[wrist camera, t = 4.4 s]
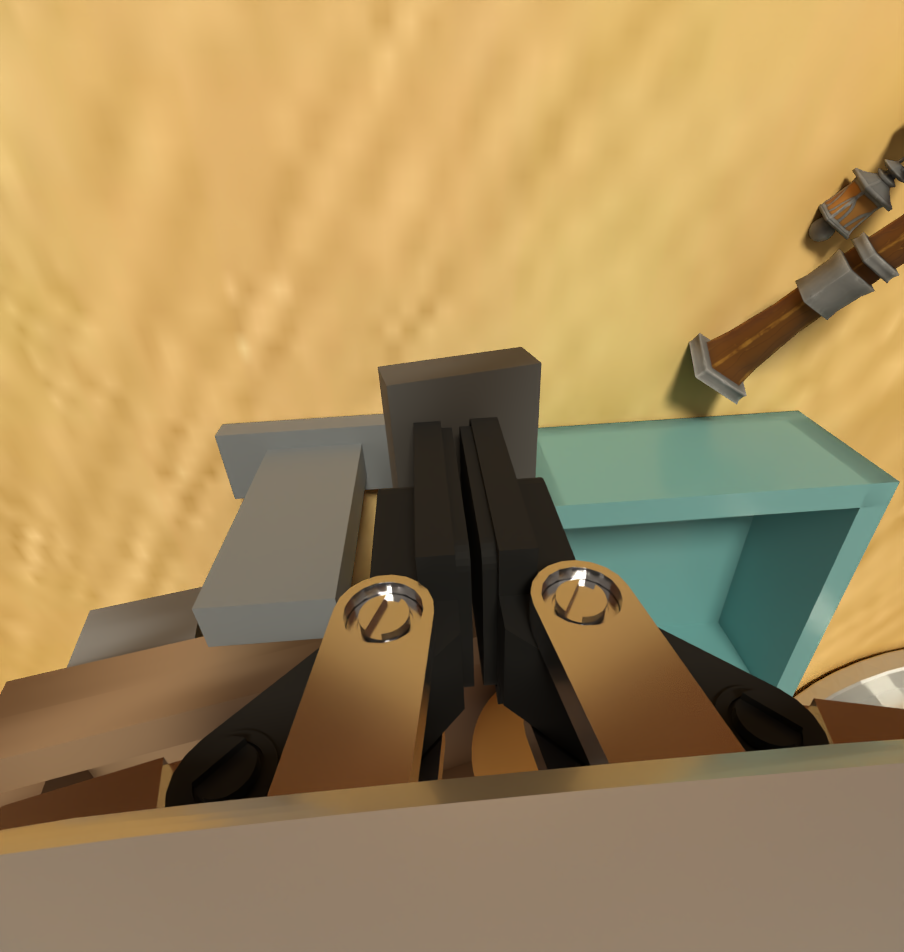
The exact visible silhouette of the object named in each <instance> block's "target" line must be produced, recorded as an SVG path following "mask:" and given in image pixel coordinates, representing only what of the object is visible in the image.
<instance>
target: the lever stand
mask: <svg viewBox="0 0 904 952" xmlns="http://www.w3.org/2000/svg"><path fill="white" fill-rule="evenodd" d="M215 438H216V441H217V444H218V447H219V451H220V454H221V457H222V460H223V463H224V466H225V469H226V472H227V475H228V478H229V481H230V485H231V488H232V491H233V494H234V497H235V499H240V498H244V500H243V502H242V504H241V506H240V509H239V511H238V513H237V515H236V517H235V519H234V521H233V523H232V525H231V528H230V530H229V532H228V534H227V536H226V538H225V540H224V542H223V544H222V546H221V549H220V551H219V553H218V555H217V557H216V559H215V561H214V563H213V565H212V568H211V570H210V572H209V574H208V576H207V578H206V580H205V582H204V584H203V586H202V589H201V591H200V593H199V595H198V597H197V599H196V601H195V603H194V605H193V608H192V611H193V613H194V615H195V618H196V620H197V622H198V624H199V627H200V629H201V631H202V634H203V636H204V638H205V640H206V643H207V645H208V647H216V646H229V645H242V644H255V643H268V642H281V641H294V640H307V639H320V638H323V637H324V634H325V631H326V629H327V626H328V623H329V620H330V617H331V615H332V612H333V609H334V607H335V605H336V604H337V602H338V600H339V598H340V597H341V596H342V595H343V594H344V593H345V592H346V591H347V590H348V589H349V588H351V582H352V575H353V568H354V561H355V554H356V547H357V539H358V532H359V525H360V518H361V511H362V504H363V497H364V490H370V489H384V488H393V485H392V477H391V469H390V461H389V453H388V445H387V437H386V429H385V421H384V414H373V415H358V416H343V417H327V418H312V419H297V420H281V421H266V422H251V423H235V424H223V425H222V426H221V427H220V429H219V430H218V432H217V433H216V435H215Z"/></svg>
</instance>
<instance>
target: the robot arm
mask: <svg viewBox="0 0 904 952" xmlns="http://www.w3.org/2000/svg"><path fill="white" fill-rule="evenodd" d="M413 435H414V487H401V488H387V489H379V490H378V494H377V505H376V516H375V527H374V538H373V549H372V561H371V572H370V578H369V579H366V580H363V581H361V582H359V583H358V584H356V585H354V586H352V587H351V588H349V589H348V590H347V591H346V592H345V593H344V594H343V595H342V596H341V597H340V598H339V600H338V602H337V604H336V605H335V607H334V609H333V612H332V615H331V617H330V620H329V623H328V626H327V629H326V631H325V634H324V637H323V640H322V643H321V645H320V647H319V648H318V649H317V650H316V651H314V652H313V653H312V654H310V655H309V656H308V657H307V658H305V659H304V660H303V661H301V662H300V663H299V664H298V665H296V666H295V667H294V668H293V669H291V670H290V671H289V672H287V673H286V674H285V675H284V676H282V677H281V678H280V679H278V680H277V681H276V682H275V683H273V684H272V685H271V686H270V687H268V688H267V689H266V690H264V691H263V692H262V693H261V694H259V695H258V696H257V697H255V698H254V699H253V700H252V701H250V702H249V703H248V704H247V705H245V706H244V707H243V708H241V709H240V710H239V711H238V712H236V713H235V714H234V715H232V716H231V717H230V718H229V719H227V720H226V721H225V722H224V723H222V724H221V725H220V726H218V727H217V728H216V729H215V730H213V731H212V732H211V733H209V734H208V735H207V736H206V737H204V738H203V739H202V740H201V741H200V742H199V743H198V744H197V745H195V746H194V747H193V748H192V749H191V750H190V751H189V752H188V753H187V754H186V755H185V757H184V758H183V759H182V760H180V761H177V762H173V763H170V764H168V763H167V761H166V760H165V758H164V757H162V758H159V759H155V760H152V761H149V762H145V763H142V764H139V765H136V766H132V767H129V768H126V769H122V770H119V771H116V772H112V773H109V774H106V775H102V776H99V777H96V778H93V779H89V780H86V781H83V782H79V783H76V784H73V785H69V786H66V787H63V788H60V789H56V790H53V791H50V792H46V793H43V794H40V795H36V796H33V797H30V798H26V799H23V800H20V801H17V802H13V803H10V804H7V805H4V806H2V807H0V952H904V649H902V650H897V651H892V652H888V653H884V654H881V655H877V656H874V657H871V658H868V659H865V660H862V661H859V662H857V663H854V664H852V665H850V666H847V667H845V668H843V669H840V670H838V671H836V672H834V673H832V674H830V675H828V676H826V677H825V678H823V679H821V680H819V681H817V682H815V683H814V684H812V685H811V686H809V687H808V688H806V689H805V690H804V691H802V692H801V693H799V694H798V695H796V696H795V697H794V698H793V697H792V696H790V695H789V694H787V693H785V692H784V691H782V690H781V689H779V688H777V687H775V686H773V685H771V684H769V683H767V682H765V681H763V680H761V679H759V678H757V677H755V676H753V675H751V674H749V673H747V672H746V671H744V670H742V669H740V668H738V667H736V666H734V665H732V664H730V663H728V662H726V661H724V660H722V659H720V658H718V657H716V656H714V655H712V654H710V653H708V652H706V651H704V650H702V649H700V648H698V647H696V646H694V645H692V644H690V643H688V642H686V641H684V640H682V639H680V638H678V637H676V636H674V635H672V634H670V633H669V632H667V631H665V630H663V629H661V628H659V627H657V625H656V624H655V622H654V621H653V620H652V618H651V617H650V615H649V614H648V613H647V611H646V610H645V608H644V607H643V606H642V604H641V603H640V601H639V600H638V599H637V597H636V596H635V594H634V593H633V591H632V590H631V589H630V587H629V586H628V585H627V584H626V582H625V581H624V580H623V579H622V578H621V577H620V576H619V575H618V574H616V573H614V572H613V571H611V570H609V569H608V568H606V567H604V566H601V565H598V564H595V563H592V562H587V561H579V560H576V559H575V556H574V554H573V551H572V549H571V546H570V544H569V541H568V539H567V536H566V534H565V531H564V529H563V526H562V524H561V521H560V518H559V516H558V513H557V511H556V508H555V506H554V503H553V501H552V498H551V496H550V493H549V491H548V488H547V486H546V483H545V481H544V479H543V478H542V477H535V478H522V479H517V478H516V475H515V471H514V468H513V465H512V462H511V459H510V456H509V452H508V449H507V446H506V443H505V440H504V437H503V433H502V430H501V427H500V424H499V421H498V418H497V417H488V418H474V419H470V420H469V426H462V427H459V435H460V461H461V486H462V494H461V487H460V480H459V473H458V466H457V459H456V453H455V446H454V439H453V432H452V427H448V428H441V421H431V422H417V423H413ZM472 606H473V614H474V621H475V628H476V636H477V643H478V651H479V658H480V665H481V673H482V680H483V685H495V689H496V695H497V702H498V704H504V706H505V707H507V708H508V709H509V710H511V711H512V712H514V713H515V714H516V715H518V716H519V717H521V718H522V719H523V720H524V722H523V723H524V728H525V734H526V737H527V740H528V743H529V746H530V748H531V751H532V754H533V757H534V760H535V762H536V765H537V768H538V771H528V772H517V773H506V774H496V775H485V776H475V777H464V778H453V779H443V780H442V774H443V763H444V752H445V730H446V729H447V728H448V727H449V726H450V725H451V724H452V722H453V721H454V720H455V719H456V718H457V717H458V716H459V715H460V714H461V713H462V711H463V710H464V709H465V704H464V687H474V654H473V622H472Z"/></svg>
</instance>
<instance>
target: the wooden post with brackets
mask: <svg viewBox="0 0 904 952" xmlns="http://www.w3.org/2000/svg"><path fill="white" fill-rule="evenodd" d="M903 161H904V157H903V158H902V159H900V160H899V161H892V160H886V159H885V160H884V162H885V166H886V167H887V169H888V170H887V171H884V170H882V169H878V174H877V173H870V172H865V171H862V170H860V169H858V168H855V169H854V170H853V172H854V174H855V175H856V178H855V179H854V180H853V181H852V182H851V183H850V184H849V185H847V186H846V187H845V188H843V189H842V190H841V191H839V192H838V193H836V194H835V195H834V196H832V197H831V198H830V199H828V200H826V201H825V202H824V203H823V204H822V205H821V204H820V206H819V207H818V208H819V210H820V212H821V214H822V215H823V217H822V218H819V219H817V220H815V221H814V222H813V223H812V224H811V226H810V229H809V236H810V238H811V239H812V240H814V241H824V240H827V239H829V238H830V237H831V236H832V235H833V234H834V232H835V230H836V231H837V232H839V233H840V234H841V235H842V236H843V237H844V238H845V239H848V238H849V235H850V234H851V232H852V231H853V230H854V229H855V228H856V227H857V226H858V225H860V224H861V223H862V222H863V221H864V220H865V219H867V218H868V217H869V216H870V215H871V214H872V213H874V212H875V211H876V210H878V209H879V208H881V207H884V208H885V209H886V210H887V211H888V212H889V211H890V210H891V209H892V206H891V202H890V195H889V189H890V187H895V183H894V179H895V178H897V179H898V180H899V181H901V182H903V183H904V167H903V166H902V165H901V164H900V163H902V162H903ZM851 241H852V243H853V245H854V246H855V247H853V248H852V249H850V250H849V251H848V252H846V253H843V252H842V251H841V250H840V249H838V251H837V252H836V253H835V254H834V255H833V256H832V257H831V258H830V259H829V260H827V261H826V262H825V263H823V264H822V265H820V266H819V267H818V268H816V269H815V270H814V271H812V272H811V273H809V274H808V275H806V276H804V277H802V278H800V279H798V280H796V281H795V282H796V284H797V286H798V287H797V288H796V289H795V290H793V291H792V292H790V293H789V294H788V295H786V296H785V297H783V298H782V299H781V300H779V301H778V302H777V303H775V304H774V305H772V306H770V307H769V308H767V309H765V310H764V311H762V312H760V313H759V314H757V315H755V316H754V317H752V318H750V319H749V320H747V321H745V322H744V323H742V324H740V325H739V326H737V327H736V328H734V329H732V330H731V331H729V332H727V333H725V334H723V335H721V336H719V337H717V338H715V339H713V340H709V339H708V338H706V337H705V336H703V335H702V334H700V333H699V334H698V336H696V337H695V338H694V339H693V340H692V341H690V342H689V344H690V350H691V355H692V361H693V366H694V372H695V377H696V378H697V379H699V380H700V381H702V382H703V383H705V384H706V385H708V386H709V387H711V388H713V389H714V390H716V391H717V392H719V393H720V394H722V395H723V396H725V397H726V398H728V399H729V400H731V401H733V402H734V403H736V404H737V403H738V401H739V400H740V399H741V398H742V397H744V396H746V392H745V388H744V384H743V381H744V380H745V379H746V378H747V377H748V376H749V375H750V374H751V373H752V372H753V371H754V370H755V369H756V368H757V367H758V366H759V365H760V364H762V363H763V362H764V361H765V360H766V359H767V358H769V357H770V356H771V355H772V354H773V353H774V352H776V351H777V350H778V349H779V348H780V347H782V346H783V345H784V344H785V343H786V342H787V341H789V340H790V339H791V338H792V337H793V336H794V335H796V334H797V333H798V332H799V331H801V330H802V329H804V328H805V327H807V326H808V325H809V324H811V323H812V322H814V321H815V320H816V319H818V318H819V317H821V316H822V317H824V318H825V319H826V320H828V319H829V318H830V317H831V316H832V315H833V314H834V313H836V312H837V311H838V310H840V309H841V308H843V307H845V306H846V305H848V304H850V303H851V302H853V301H854V300H856V299H858V298H859V297H861V296H863V295H866V294H868V293H871V292H873V291H875V290H874V289H873V287H872V284H873V283H875V282H876V281H877V280H879V279H880V278H881V279H883V280H884V281H885V282H886V283H888V281H889V280H890V279H892V278H893V277H896V276H898V275H899V274H898V272H897V270H896V268H897V267H899V266H900V265H902V264H904V215H902V216H901V217H899V218H897V219H896V220H894V221H893V222H891V223H890V224H888V225H887V226H885V227H884V228H882V229H881V230H879V231H878V232H876V233H875V234H873V235H871V236H870V237H868V236H867V235H866V234H865V233H864V232H863V233H862V234H861V235H860V236H859V237H857V238H855V239H852V240H851Z"/></svg>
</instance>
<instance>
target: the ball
mask: <svg viewBox="0 0 904 952" xmlns="http://www.w3.org/2000/svg"><path fill="white" fill-rule="evenodd" d="M523 722H524V720H523V719H522V718H521V717H519V716H518V715H516V714H515V713H514V712H512V711H511V710H509V709H508V708H507V707H505V706H504V704H498V702H497V695H496V693H495V694H494V695H493V696H492V697H491V698H490V699H489V700H488V702H487V703H486V705H485V706H484V708H483V710H482V712H481V713H480V715H479V717H478V720H477V723H476V726H475V729H474V734H473V739H472V767H473V773H474V777H475V776H485V775H496V774H506V773H517V772H528V771H538V768H537V765H536V762H535V760H534V757H533V754H532V751H531V748H530V746H529V743H528V740H527V737H526V734H525V728H524V723H523Z"/></svg>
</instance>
